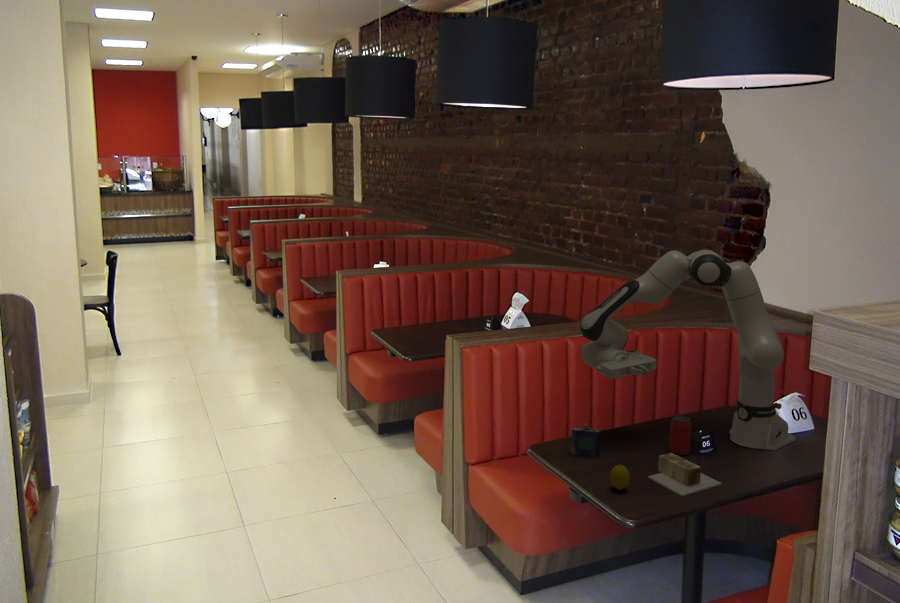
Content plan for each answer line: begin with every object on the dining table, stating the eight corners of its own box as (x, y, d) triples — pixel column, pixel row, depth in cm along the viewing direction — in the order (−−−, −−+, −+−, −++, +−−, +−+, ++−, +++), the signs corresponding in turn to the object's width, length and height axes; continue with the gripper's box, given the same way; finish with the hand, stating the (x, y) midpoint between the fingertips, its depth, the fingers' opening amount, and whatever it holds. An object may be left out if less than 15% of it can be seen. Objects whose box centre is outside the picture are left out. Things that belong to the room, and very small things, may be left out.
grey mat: (686, 467, 225) (686, 465, 225) (721, 485, 213) (721, 483, 212) (648, 478, 218) (648, 476, 217) (682, 496, 205) (682, 494, 205)
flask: (570, 455, 235) (571, 424, 232) (571, 451, 237) (572, 421, 235) (599, 458, 232) (600, 427, 230) (599, 454, 235) (600, 423, 233)
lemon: (615, 495, 207) (616, 469, 205) (606, 487, 212) (607, 462, 210) (632, 492, 208) (633, 467, 206) (622, 484, 213) (623, 459, 212)
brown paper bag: (671, 452, 222) (701, 467, 212) (670, 467, 223) (700, 483, 213) (659, 455, 220) (689, 470, 209) (658, 470, 221) (688, 486, 210)
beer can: (690, 456, 233) (693, 422, 230) (670, 455, 234) (672, 420, 232) (688, 449, 239) (690, 415, 237) (668, 447, 240) (670, 413, 238)
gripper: (592, 358, 238) (620, 368, 226) (639, 349, 247) (668, 358, 235) (592, 376, 239) (620, 387, 227) (639, 367, 248) (667, 377, 236)
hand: (645, 372), depth 231 cm, fingers closed
